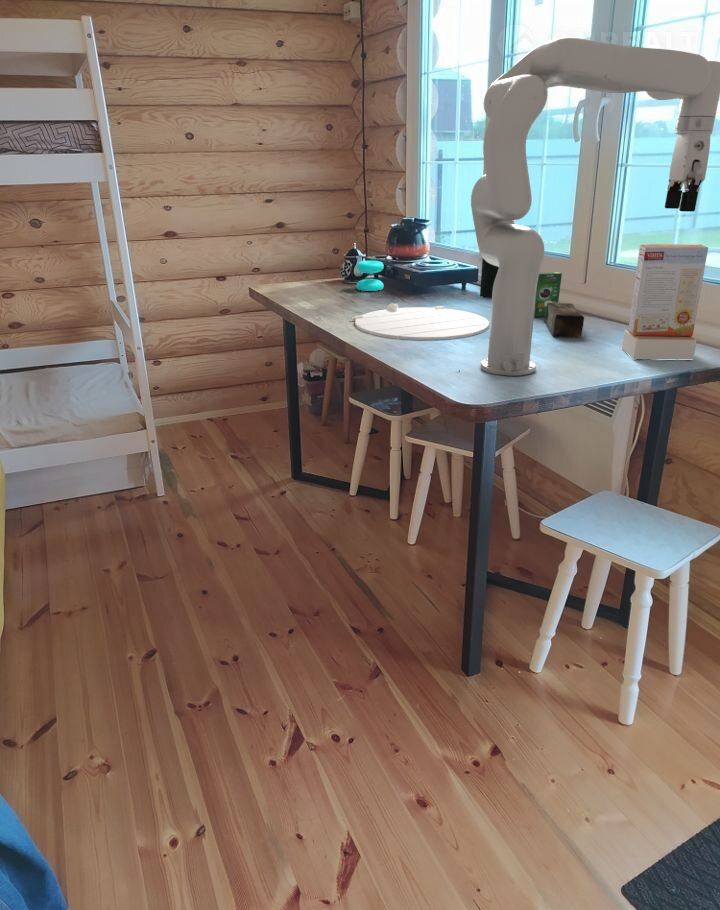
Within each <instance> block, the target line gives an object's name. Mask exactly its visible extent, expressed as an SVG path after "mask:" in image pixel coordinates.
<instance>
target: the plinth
mask: <svg viewBox="0 0 720 910" xmlns="http://www.w3.org/2000/svg"><path fill="white" fill-rule="evenodd" d="M697 342H698V340H697V339H696V338H694V337H693V336H638V335H633V334H632V333H631V332H630V331H629V330H628V328H626V329H624V333H623V339H622V345H621V350H622V349H623V350H624V351H625V352H627V353H628V354H629V355H630V356H631V357H632V358H633V359H693V360H694V357H695V356H694V355H695V352H696V346H697ZM623 350H622V351H623ZM624 351H623V352H624ZM625 352H624V353H625ZM632 358H631V359H632ZM633 359H632V360H633Z"/></svg>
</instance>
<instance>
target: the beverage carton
mask: <svg viewBox="0 0 720 910" xmlns="http://www.w3.org/2000/svg"><path fill="white" fill-rule="evenodd" d="M584 321H585V316H584V315H583V314H582V313H581V312H580V311H579V310H578V308H576V306H575V305H574V303H569V302H568V303H567V302H565V303H563V302H559V301H558V302H555V301H554V302H552V303H547V307H546V314H545V316H544V323H545V325H546V327H547V328H548V330H549V332H550V333H551V335H552V337H555V338H573V339H574V338H577V339H580V338H581V337H582V334H583V328H584V323H585V322H584Z"/></svg>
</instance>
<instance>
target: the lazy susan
mask: <svg viewBox="0 0 720 910" xmlns="http://www.w3.org/2000/svg"><path fill="white" fill-rule="evenodd" d="M350 319H351V321H354V324H355V325H356V326H355V328H356V329H357V330H359V331H361V332H363V333H366V334H369V335H372V334H373V335H372V336H376V335H377V336H376V337H381V336H382V337H381V338H387V337H388V338H389V339H397V338H398V340H406V339H408V340H410V341H440V340H439V339H446V340H453V339H452V338H456V339H463V338H467V337H468V336H469V337H472V336H473V337H474V336H477V335H479V333H480V334H481V333H484V332H486V331H488V329H489V328H490V321H489V320H488V319H487V318H486V317H484V316H483V315H482V316H481V315H479V314H476V313H474V312H470V311H465V310H458V309H454V308H453V309H452V308H451V309H450V308H446V306H443V305H440V306H434V307H420V306H419V307H414V306H413V307H412V306H411V307H399V305H398V304H397V303H389V304H388V306H386V309H385V308H384V309H381V310H374V311H370V312H366V313H364V314H363V313H362V315H356V316H355V315H354V316H353V317H351V318H350ZM488 327H489V328H488ZM476 334H477V335H476ZM462 337H463V338H462ZM388 338H387V339H388ZM436 339H438V340H436Z"/></svg>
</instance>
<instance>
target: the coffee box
mask: <svg viewBox="0 0 720 910" xmlns="http://www.w3.org/2000/svg"><path fill="white" fill-rule="evenodd" d="M562 273H563V272H559V271H556V272H555V271H554V272H553V271H551V272H549V271H548V272H547V271H546V272H539V277H538V282H537V289H536V299H535V310H534V318H541V317H545V314H546V307H547V303H552V302H554V301H555V302H558V303H559V301H560V300H559V299H560V298H559V297H560V293H561V291H560V290H561V283H562V277H563V276H562V275H563V274H562Z"/></svg>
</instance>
